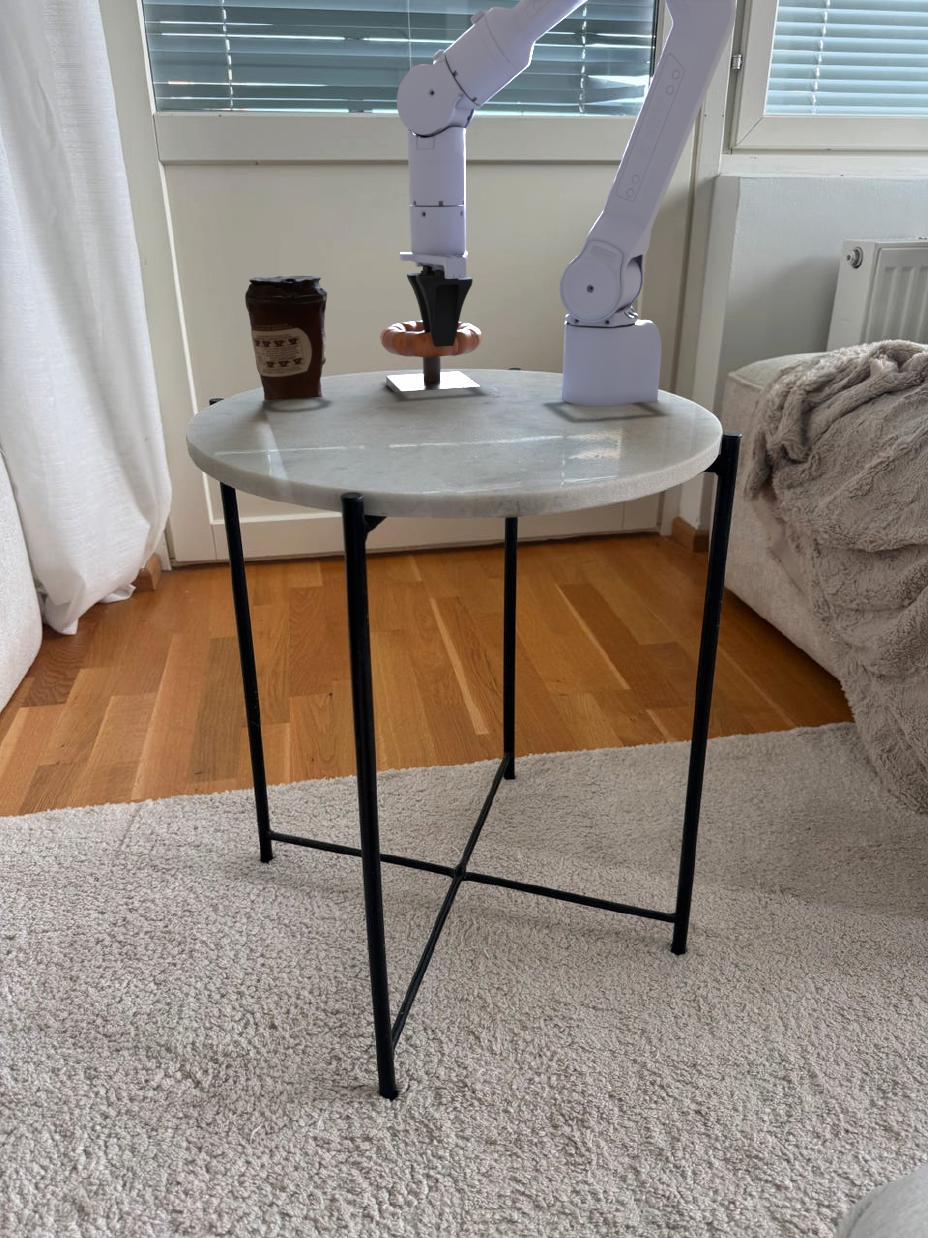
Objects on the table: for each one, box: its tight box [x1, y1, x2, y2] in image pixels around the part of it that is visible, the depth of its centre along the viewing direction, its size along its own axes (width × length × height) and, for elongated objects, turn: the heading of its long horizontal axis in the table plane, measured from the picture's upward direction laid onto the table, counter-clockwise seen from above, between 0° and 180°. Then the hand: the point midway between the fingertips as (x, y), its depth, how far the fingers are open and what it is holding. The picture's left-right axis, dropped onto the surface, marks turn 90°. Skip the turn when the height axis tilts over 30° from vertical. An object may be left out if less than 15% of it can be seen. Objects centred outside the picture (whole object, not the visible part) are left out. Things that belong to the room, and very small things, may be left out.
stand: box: [385, 331, 481, 393], centre depth 104 cm, size 9×9×6 cm
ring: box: [379, 320, 483, 358], centre depth 103 cm, size 11×11×3 cm
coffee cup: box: [244, 275, 328, 402], centre depth 96 cm, size 9×8×13 cm
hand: (440, 343), depth 99 cm, fingers closed on ring, 3 cm apart
